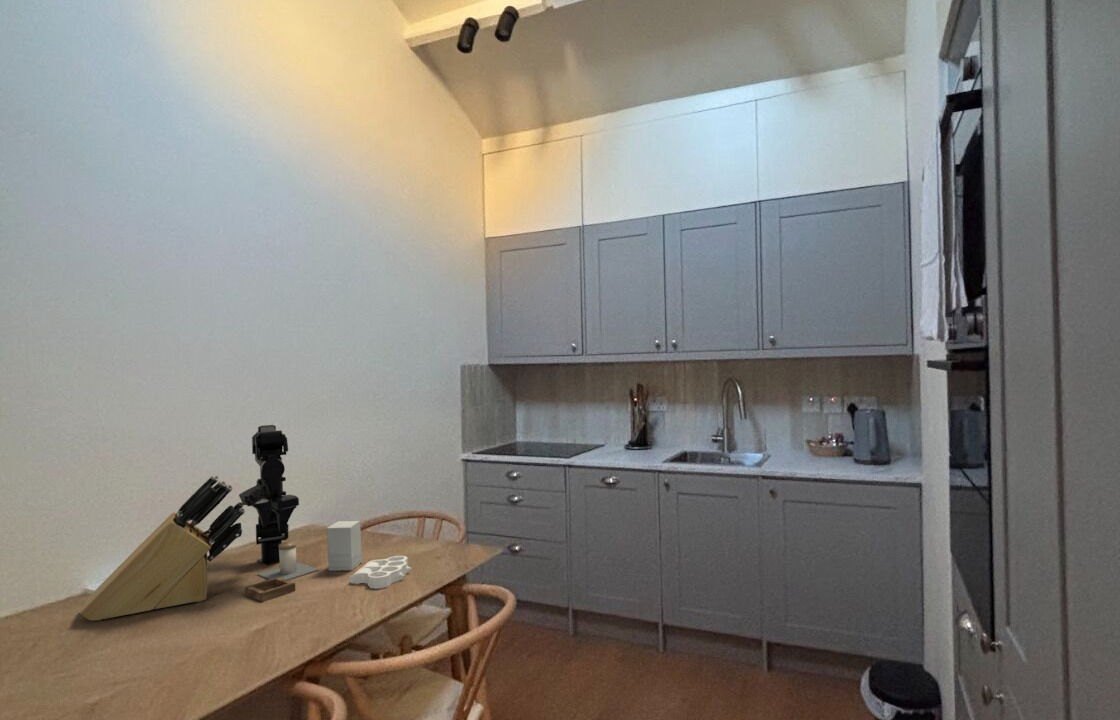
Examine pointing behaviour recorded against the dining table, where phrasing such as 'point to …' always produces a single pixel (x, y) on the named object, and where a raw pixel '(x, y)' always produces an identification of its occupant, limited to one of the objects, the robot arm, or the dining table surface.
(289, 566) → the jar
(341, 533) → the supplement box
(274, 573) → the mat
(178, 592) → the knife block
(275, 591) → the pocket frame
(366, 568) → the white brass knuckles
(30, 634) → the dining table surface
